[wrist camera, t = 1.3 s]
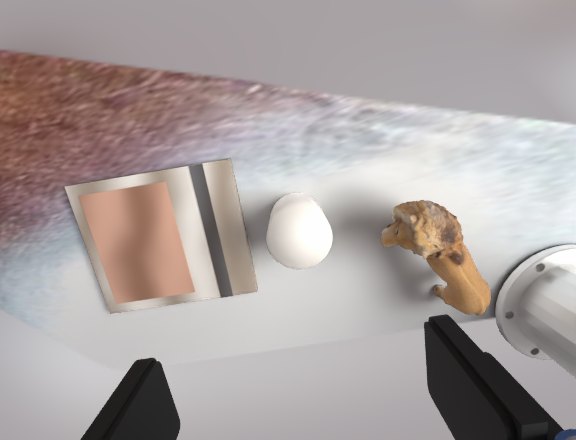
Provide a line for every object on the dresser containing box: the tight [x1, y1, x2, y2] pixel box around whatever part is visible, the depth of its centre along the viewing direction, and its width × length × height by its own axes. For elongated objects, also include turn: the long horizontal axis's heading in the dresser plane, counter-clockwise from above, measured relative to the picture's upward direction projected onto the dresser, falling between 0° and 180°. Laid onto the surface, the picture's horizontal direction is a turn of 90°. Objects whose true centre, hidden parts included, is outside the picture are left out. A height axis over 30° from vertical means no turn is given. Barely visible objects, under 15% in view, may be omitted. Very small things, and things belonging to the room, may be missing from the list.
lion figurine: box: [381, 200, 491, 315], centre depth 24 cm, size 15×5×9 cm, turn 46°
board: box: [65, 159, 258, 314], centre depth 28 cm, size 15×13×1 cm
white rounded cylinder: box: [266, 193, 332, 269], centre depth 25 cm, size 5×5×6 cm
